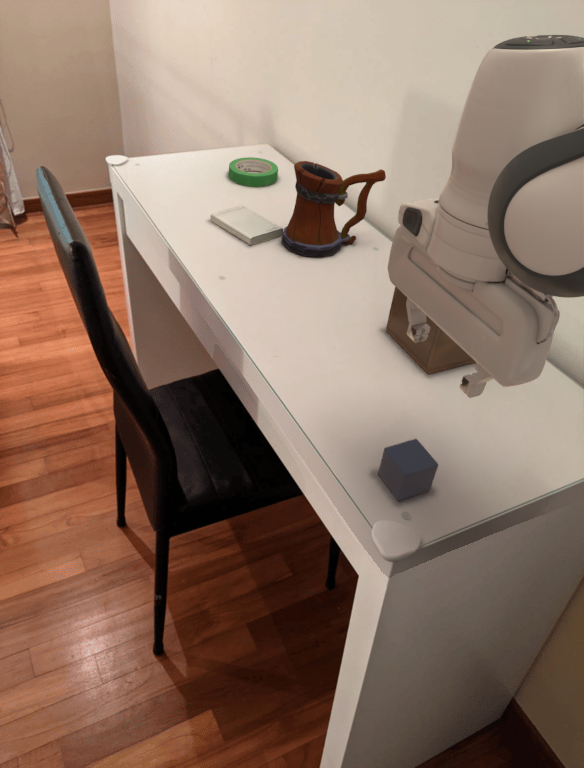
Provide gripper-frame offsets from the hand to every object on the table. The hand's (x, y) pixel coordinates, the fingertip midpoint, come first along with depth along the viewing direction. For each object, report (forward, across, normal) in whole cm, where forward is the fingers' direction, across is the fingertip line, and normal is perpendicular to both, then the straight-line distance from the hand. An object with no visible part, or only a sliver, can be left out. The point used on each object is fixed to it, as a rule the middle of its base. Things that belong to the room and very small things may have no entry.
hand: (441, 364), depth 63 cm
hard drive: (+16, +65, -5) cm, 68 cm away
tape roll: (+16, +89, -16) cm, 92 cm away
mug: (+16, +55, -18) cm, 60 cm away
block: (+16, -2, +2) cm, 16 cm away
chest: (+16, +20, -20) cm, 33 cm away
